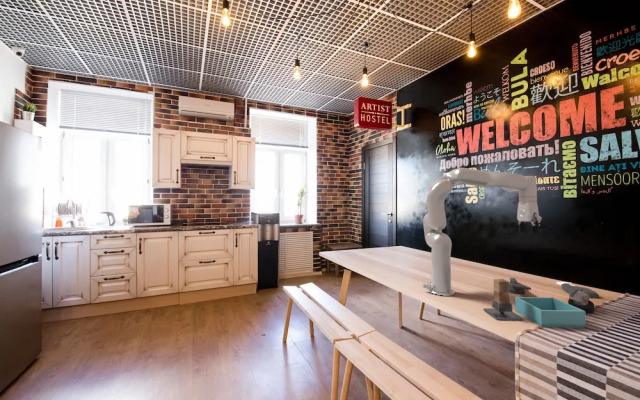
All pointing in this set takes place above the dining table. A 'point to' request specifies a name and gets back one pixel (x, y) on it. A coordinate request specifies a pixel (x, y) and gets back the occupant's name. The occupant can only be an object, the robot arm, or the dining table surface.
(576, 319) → the bin
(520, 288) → the zipper pull
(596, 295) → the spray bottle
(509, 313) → the base
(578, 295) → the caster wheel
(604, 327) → the dining table surface
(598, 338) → the dining table surface
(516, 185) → the robot arm
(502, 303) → the strut
